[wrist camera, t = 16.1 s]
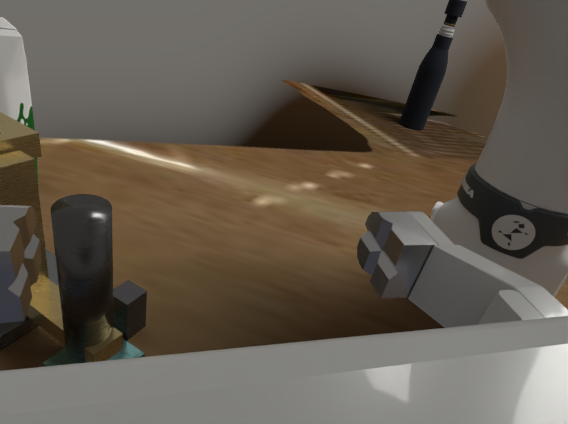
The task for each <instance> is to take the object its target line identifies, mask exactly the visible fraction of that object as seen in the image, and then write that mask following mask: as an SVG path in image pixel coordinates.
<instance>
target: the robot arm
mask: <svg viewBox="0 0 568 424" xmlns="http://www.w3.org/2000/svg"><path fill="white" fill-rule="evenodd" d="M484 1H485V4H486V6H487V7H488V9H489V10H490V12H491V13H492V15H493V16H494V18H495V20H496V22H497V24H498V26H499V29H500V31H501V34H502V37H503V40H504V44H505V49H506V56H507V83H506V90H505V94H504V98H503V102H502V105H501V108H500V110H499V113H498V116H497V118H496V121H495V123H494V126H493V128H492V131H491V134H490V135H489V138H488V140H487V142H486V144H485V147H484V149H483V151H482V153H481V155H480V157H479V159H478V161H477V163H475V164H473V165H472V166H471V167H470V169H469V171H468V172H467V173H466V174H465V176H464V178H463V180H462V184H461V186H460V188H459V190H458V196H457V197H455V198H454V199H452V200H450V201H448V202H445V203H442V202H437V203H436V205H435V206H434V208H433V210H432V212H431V215H430V216H431V219H429V218H428V217H427V215H426V214H425V213H422V212H420V211H407V212H372V213H371V214H370V215H369V216H368V218H367V221H366V224H365V225H366V228H367V230H368V231H367V232H366V233H365V234H364V235H362V236H361V237H360V240H359V243H358V247H357V257H358V260H359V264H360V265H361V267H362V269H363V270H364V271H366V272H367V273H369V274H370V275H372V276H371V280H370V282H371V283H372V285H373V286H374V288H375V290H376V291H377V293H378V294H379V296H380V298H408V299H409V300H410V301H411V302H413V303H414V304H415V305H416V306H418V307H419V308H420V309H421V310H423V311H424V312H425V313H426V314H428V315H429V316H430V317H432V318H433V319H434V320H435V321H437V322H438V323H439V324H440V325H442V326H443V327H444V328H439V329H428V330H418V331H407V332H397V333H386V334H376V335H365V336H355V337H344V338H334V339H323V340H313V341H303V342H293V343H283V344H272V345H262V346H252V347H242V348H232V349H221V350H211V351H201V352H191V353H180V354H170V355H160V356H149V357H139V358H129V359H118V360H108V361H98V362H87V363H77V364H66V365H56V366H46V367H35V368H25V369H15V370H4V371H0V424H568V310H567V309H566V308H565V307H564V306H563V305H562V304H561V303H560V302H559V301H558V300H556V299H555V298H554V297H555V296H556V294H557V292H558V291H559V289H560V288H561V286H562V284H563V283H564V281H565V279H566V278H567V276H568V246H567V244H568V0H484ZM36 224H37V221H36V216H35V210H34V209H33V207H32V206H18V205H0V323H9V322H21V321H25V318H26V315H27V312H28V309H29V306H30V302H31V299H32V293H31V286H32V285H33V284H35V283H36V282H37V280H38V276H39V273H40V265H41V247H40V240H39V239H38V238H37V237H36V236H35V235H34V234H33V233H34V230H35V227H36Z"/></svg>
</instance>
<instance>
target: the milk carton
mask: <svg viewBox="0 0 568 424" xmlns="http://www.w3.org/2000/svg"><path fill="white" fill-rule="evenodd" d="M0 112H1V113H3V114H5V115H7V116H9V117H11V118H12V119H14V120H16V121H18V122H20V123H22V124H23V125H25V126H27V127H29V128H31V129H33V130H34V131H35V129H34V120H33V111H32V103H31V94H30V87H29V78H28V72H27V60H26V56H25V52H24V45H23V37H22V36H21V35H20V34H19V33H18V31H17V29H16V28H15V27H14V26H12V25H11V24H10V23H9V22H8V21H7V20H6V19H4V18H2V17H0ZM34 159H35V167H36V176H37V158H34ZM37 184H38V177H37Z"/></svg>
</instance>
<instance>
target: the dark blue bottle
mask: <svg viewBox="0 0 568 424" xmlns="http://www.w3.org/2000/svg"><path fill="white" fill-rule="evenodd" d="M466 4H467V2H465V1H461V0H449V3H448V5H447V8H446V11H445V14H447V17H446V19H445V22H444V24H445V25H449V26H453V27H454V26H455V24H456V21H457V18H458V17H462V14H463V12H464V9H465V6H466ZM453 32H454V29H452V28H449V27H444V26H442V27H441V28H440V31H439V34H437V36H436V38H435V41H434V44H433V46H432V48H431V49H430V50H429V52H428V53H427V54H426V56H425V58H424V59H423V61H422V63H421V64H420V66H419V69H418V72H417V74H416V77H415V80H414V83H413V85H412V88H411V91H410V94H409V96H408V99H407V102H406V105H405V108H404V110H403V113H402V116H401V119H400V121H399V122H400V124H401V125H403V126H405V127H407V128H410V129H414V130H423V129H424V126H425V123H426V121H427V118H428V116H429V113H430V111H431V108H432V106H433V103H434V101H435V98H436V96H437V93H438V91H439V88H440V85H441V83H442V80H443V78H444V75H445V72H446V68H447V62H448V50H449V47H450V44H451V42H452V39H453V38H452V36H453Z"/></svg>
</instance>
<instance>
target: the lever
mask: <svg viewBox="0 0 568 424" xmlns="http://www.w3.org/2000/svg"><path fill="white" fill-rule="evenodd" d="M37 157H41V148H40V139H39V133H38V132H36V131H34V130H33V129H31V128H29V127H27V126H25V125H23V124H22V123H20V122H18V121H16V120H14V119H12V118H11V117H9V116H7V115H5V114H3V113H1V112H0V205H18V206H32V207H33V209H34V210H35V216H36V221H37V224H36V227H35V230H34V233H33V234H34V235H35V236H36V237H37V238H38V239H39V240H40V247H41V265H40V273H39V276H38V280H37V282H36V283H35V284H33V285H32V286H31V293H32V299H31V302H30V306H29V309H28V312H27V316H28V317H29V318H31V319H32V320H33V321H34V322H36V323H37V324H38V325H39V326H41V327H42V328H43V329H44V330H46V331H47V332H48V333H49V334H51V335H52V336H53V337H54V338H55V339H57V340H58V341H59V342H60V343H62V344H63V345H64V346H65V350H66V355H67V357H68V358H69V359H70V360H71V361H72V362H74V363H87V362H98V361H107V360H108V359H110V358H111V357H112V356H114V355H115V354H116V353H118V352H119V351H120V350H121V349H123V333H121V332H120V331H118V330H117V329H116V328H114V319H113V255H112V206H111V204H110V202H109V201H107V200H106V199H104V198H102V197H99V196H95V195H89V194H77V195H71V196H67V197H64V198H61V199H59V200H57V201H56V202H55V203H54V204H53V205H52V207H51V217H52V227H53V236H54V246H55V255H56V265H57V274H58V284H59V286H57V285H56V284H55V283H53V282H52V281H51V280H49V275H48V267H47V259H46V250H45V242H44V234H43V225H42V217H41V209H40V200H39V192H38V184H37V176H36V167H35V159H34V158H37Z"/></svg>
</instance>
